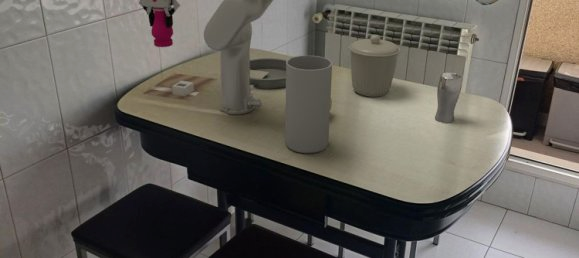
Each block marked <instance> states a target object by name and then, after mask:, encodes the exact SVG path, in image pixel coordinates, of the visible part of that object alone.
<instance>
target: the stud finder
mask: <svg viewBox="0 0 579 258" xmlns="http://www.w3.org/2000/svg"><path fill="white" fill-rule="evenodd" d="M193 91H194V83H193V82H187V81H180V82H178V83H176V84H175V85H173V86H172V93H173V94H174V95H180V96H186V95H188V94H190V93H191V92H193Z"/></svg>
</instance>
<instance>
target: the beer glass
mask: <svg viewBox="0 0 579 258" xmlns="http://www.w3.org/2000/svg"><path fill="white" fill-rule="evenodd" d="M462 77H463V76H462V75H461V74H459V73H456V72H452V71H451V72H450V71H448V72H441V73H440V74H439V79H438V82H437V83H438V84H437V92H436V93H437V94H436V95H437V96H436V97H437V98H436V99H437V100H436V101H437V109H436V113H435V116H434V119H435V121H436V122H439V123H443V124H451V123H453V122H454V121H455V109H456V106H457V103H458V100H459V99H460V98H459V97H460V94H461V88H462V80H463V78H462Z"/></svg>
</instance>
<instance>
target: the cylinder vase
mask: <svg viewBox="0 0 579 258" xmlns="http://www.w3.org/2000/svg"><path fill="white" fill-rule="evenodd" d="M332 71H333V62H332V60H330V59H329V58H326V57H324V56H319V55H297V56H293V57H291V58H290V57H289V58H288V59H287V61H286V86H285V128H284V129H285V136H284V137H285V140H284V141H285V143H284V144H285V145H286V146H287V147H288V149H289V150H292V151H293V152H296V153H301V154H315V153H319V152H322V151H323V150H325V149H326V148H327V147H328V144H329V139H330V137H329V134H330V117H331V116H330V114H331V112H330V111H331V110H330V98H331V99H332V95H331V93H332V77H333V75H332V74H333V72H332Z"/></svg>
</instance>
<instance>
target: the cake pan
mask: <svg viewBox="0 0 579 258" xmlns="http://www.w3.org/2000/svg"><path fill="white" fill-rule="evenodd" d="M287 60H288V59H287ZM287 60H286V59H284V58H283V59H282V58H273V57H265V58H264V57H263V58H253V59H250V71H258V72H267V73H266V74H265V75H264V76H263V77H262V78H259V77H258V78H257V77H251V76H250V84H253V86H252V87H253V88H255V89H256V88H257V89H279V88H280V89H281V88H286V61H287Z"/></svg>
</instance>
